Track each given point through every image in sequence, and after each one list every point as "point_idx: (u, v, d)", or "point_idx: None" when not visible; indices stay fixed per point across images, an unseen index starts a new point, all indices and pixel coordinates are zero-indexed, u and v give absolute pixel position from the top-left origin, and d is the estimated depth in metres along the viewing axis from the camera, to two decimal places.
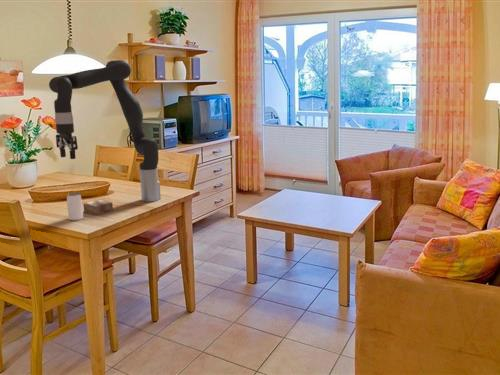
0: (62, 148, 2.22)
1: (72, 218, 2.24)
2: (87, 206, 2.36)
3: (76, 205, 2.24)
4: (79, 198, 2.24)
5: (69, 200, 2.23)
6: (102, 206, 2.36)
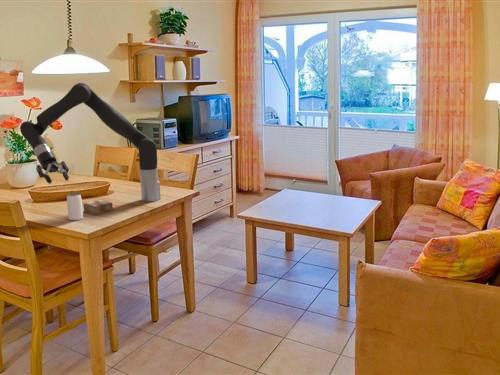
0: (63, 173, 2.36)
1: (72, 218, 2.24)
2: (87, 206, 2.36)
3: (76, 205, 2.24)
4: (79, 198, 2.24)
5: (69, 200, 2.23)
6: (102, 206, 2.36)
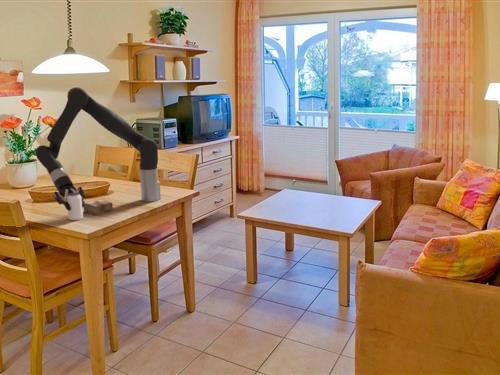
0: None
1: (72, 218, 2.24)
2: (87, 206, 2.36)
3: (76, 205, 2.24)
4: (79, 198, 2.24)
5: (69, 200, 2.23)
6: (102, 206, 2.36)
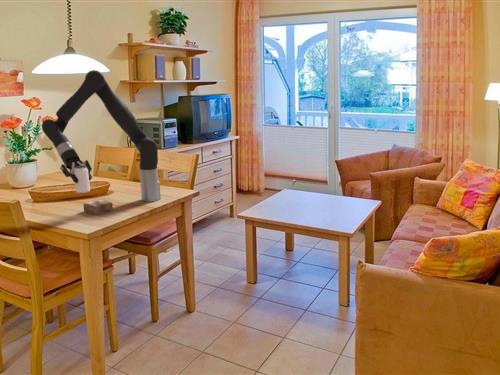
0: None
1: (79, 191, 2.26)
2: (87, 206, 2.36)
3: (83, 178, 2.25)
4: (86, 170, 2.26)
5: (76, 173, 2.24)
6: (102, 206, 2.36)
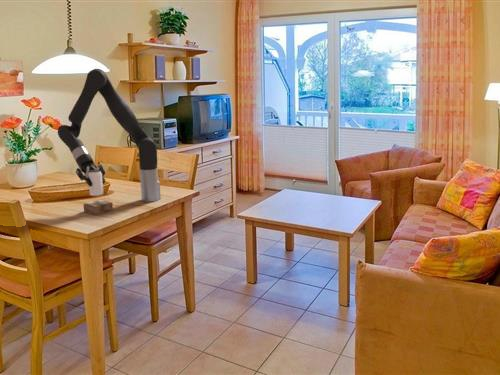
0: None
1: (93, 194, 2.35)
2: (87, 206, 2.36)
3: (97, 182, 2.34)
4: (100, 174, 2.34)
5: (90, 176, 2.33)
6: (102, 206, 2.36)
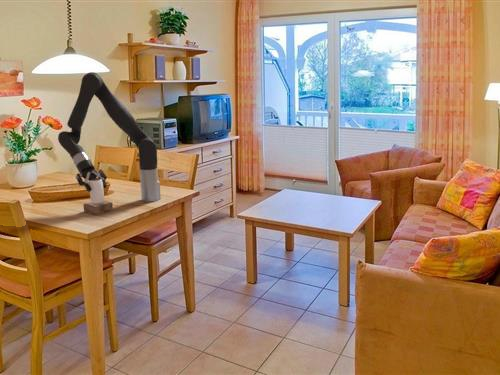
0: None
1: (94, 202, 2.36)
2: (87, 206, 2.36)
3: (98, 190, 2.35)
4: (100, 182, 2.36)
5: (91, 184, 2.34)
6: (102, 206, 2.36)
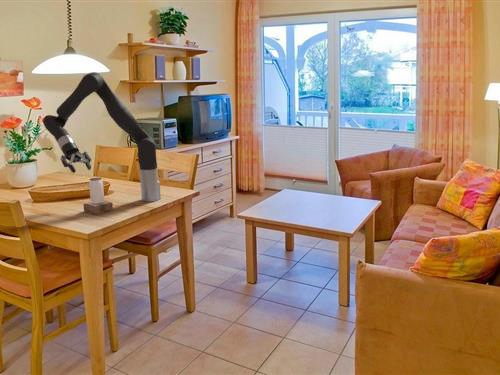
0: (85, 163, 2.47)
1: (94, 202, 2.36)
2: (87, 206, 2.36)
3: (98, 190, 2.35)
4: (100, 182, 2.36)
5: (91, 184, 2.34)
6: (102, 206, 2.36)
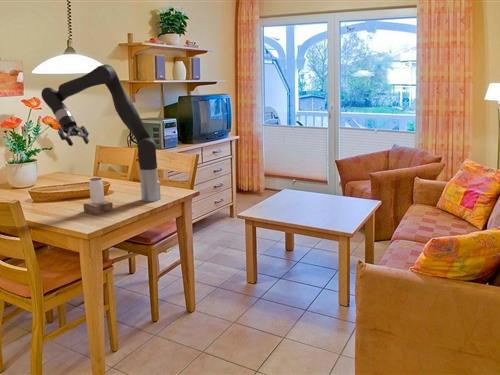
0: (83, 137, 2.44)
1: (94, 202, 2.36)
2: (87, 206, 2.36)
3: (98, 190, 2.35)
4: (101, 182, 2.36)
5: (91, 184, 2.34)
6: (102, 206, 2.36)
